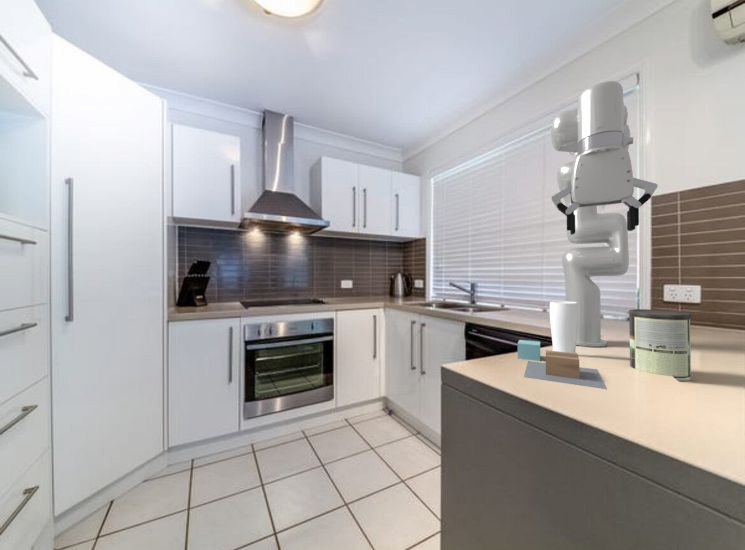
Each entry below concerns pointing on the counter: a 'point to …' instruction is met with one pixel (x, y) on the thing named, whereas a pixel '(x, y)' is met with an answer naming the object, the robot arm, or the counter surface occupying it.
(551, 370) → the walnut base
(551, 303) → the white cup
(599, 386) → the plate
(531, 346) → the teal block
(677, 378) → the coffee can
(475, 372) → the counter surface
